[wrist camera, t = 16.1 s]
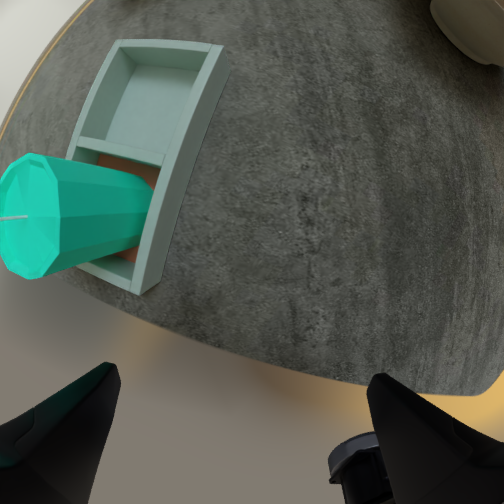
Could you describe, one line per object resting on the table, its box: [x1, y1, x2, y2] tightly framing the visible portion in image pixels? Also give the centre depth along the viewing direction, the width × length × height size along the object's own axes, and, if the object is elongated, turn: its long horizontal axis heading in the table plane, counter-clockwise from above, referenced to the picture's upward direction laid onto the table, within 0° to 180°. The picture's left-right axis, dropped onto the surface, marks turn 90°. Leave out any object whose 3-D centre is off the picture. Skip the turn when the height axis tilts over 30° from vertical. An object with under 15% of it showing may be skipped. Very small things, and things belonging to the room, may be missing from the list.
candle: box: [0, 153, 154, 280], centre depth 13 cm, size 6×6×12 cm
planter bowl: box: [430, 0, 504, 67], centre depth 9 cm, size 16×16×11 cm
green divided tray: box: [65, 39, 231, 296], centre depth 17 cm, size 9×17×4 cm, turn 162°
